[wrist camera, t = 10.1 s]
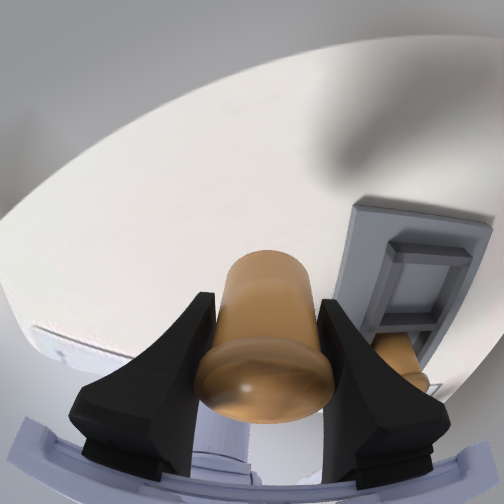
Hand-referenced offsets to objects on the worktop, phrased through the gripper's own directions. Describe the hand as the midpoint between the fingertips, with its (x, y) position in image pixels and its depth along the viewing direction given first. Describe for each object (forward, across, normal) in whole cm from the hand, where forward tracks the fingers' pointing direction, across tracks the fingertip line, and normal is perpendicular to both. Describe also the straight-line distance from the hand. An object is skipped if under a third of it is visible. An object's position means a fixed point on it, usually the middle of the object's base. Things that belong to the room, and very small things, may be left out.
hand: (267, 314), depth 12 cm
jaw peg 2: (+8, -12, +10) cm, 17 cm away
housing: (+9, -12, +7) cm, 16 cm away
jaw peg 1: (+2, 0, 0) cm, 2 cm away
